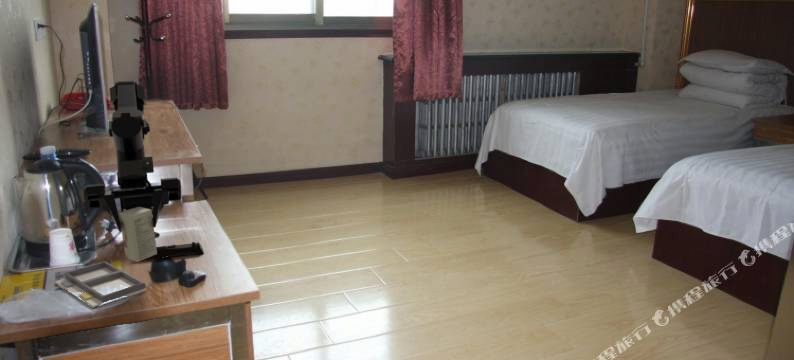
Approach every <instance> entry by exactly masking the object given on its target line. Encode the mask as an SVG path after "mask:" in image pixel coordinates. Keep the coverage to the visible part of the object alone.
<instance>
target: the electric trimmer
mask: <svg viewBox="0 0 794 360" xmlns="http://www.w3.org/2000/svg"><path fill="white" fill-rule="evenodd" d="M156 249H157V254H156V255H153V256H151V257H148V258H146V259H145V260H153V259H154V260H155V259H159V258H162V257H166V256H169V257H179V256H188V255H199V256H200V255H204V254H205V253H204V249H203V247H202V245H201V244H200V242H195V241H191V243H185V244H183V243H182V244H172V245H162V246H156ZM162 259H163V258H162Z"/></svg>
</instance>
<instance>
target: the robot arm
mask: <svg viewBox="0 0 794 360" xmlns="http://www.w3.org/2000/svg"><path fill="white" fill-rule="evenodd" d="M109 99H110V105H111V107H114V111H113V112H112V114H111V120H109V122H108V133H109V134H108V135H109V137H110V138H112V139H113V142H114V147H115V152H116V153H115V154H116V166H117V171H116V178H117V186H118V188H117V189H116V188H114V189H112V188H111V187H110V188H109V187H107V188H106V186H105V183H99V184H88V185H85V187H84V188H83V199H84V202H85V204H86V209H89V210H95V209H100V211H102V212H105V211H106V212H107V214H108V215H109V216H110V217H111V219H112V220H113V222H114V224H115V226H116V228H117V230H118V232H122V229H121V222H120V215H119V212H118V209H117V203H116V200H117V199H119V203H120V213H121V212H123V211H127V210H130V209H133V208H136V207H143V208H147V209H151V210H152V218H153V227H154V229H155V228H156V227H157V224H158V221H159V217H160V214H161V212H162V210H163V208H164V207H165V206H167V205H169V204H170V202H175V201H180V200H181V199H182V186H181V179H179V178H178V177H169V178H168V177H167V178H166V177H165V178H160V184H159V185H152V183H151V182H150V181H149V180H148V174H151V173H152V174H153V173H154V172H155V170H154V169H155V168H154V161H153V156H146V154H145V153H146V152H145V145H144V140H145V136H147V135H148V134H149V133H150V132H151V129H150V124H149V122H148V121H147V119H146V118H145V119H143V116H144V115H145V106H147V94H146V88H145V86H143V85H140V84H138V82H137V81H134V80H120V81H119V80H118V81H117V82H114V85H113V86H111V87H110V88H109ZM154 233H155V238H156V237H159V236H160V233H159V232H156V231H154Z"/></svg>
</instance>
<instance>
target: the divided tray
mask: <svg viewBox="0 0 794 360" xmlns="http://www.w3.org/2000/svg"><path fill="white" fill-rule="evenodd" d="M63 274H64V278H62V279H59V280H55V281H54V283H55V285H57V286H58V287H60V288H61V289H62V290H64V289H65V290H64V291H66V290H69V291H71V292H81V293H82V292H83V293H82V294H78V297H80V298H81V299H82V300H83V301H85V302H86V303H87V304H89V305H90V306H91V307H92V308H91V307H90V306H89V307H90V308H91V309H93V308H94V307H96V306H99V305H101V304H102V303H104V302H107V301H109V300H113V299H116V298H120V297H122V296H129V297H132V296H135V295H137V294H140V293H144V292H146V291H147V287H146V282H145V281H143V280H141V279H139V278H137V277H135V276H134V275H131V274H130V273H129V272H126V271H124V270H122V269H121V268H119V267H117V266H115V265H113V264H111V263H109V262H108V261H106V260H105V261H101V262H98V263H94V264H91V265H88V266H84V267H81V268H78V269H74V270H71V271H67V272H64V273H63ZM120 285H123V286H127V287H128V288H125V289H122V290H119V291H115V292H112V293H109V294H106V295H102V294H101V293H99V292H97V291H100V290H101V288H102V287H104V288H105V287H107V286H109V287H111V288H113V289H114V288H115V287H119V286H120ZM87 304H86V305H87ZM94 309H95V308H94Z"/></svg>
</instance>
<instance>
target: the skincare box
mask: <svg viewBox="0 0 794 360" xmlns="http://www.w3.org/2000/svg"><path fill="white" fill-rule="evenodd" d="M118 215H119V219H120V224H121V235H122V242H123V251H124V257H125V259H128V260H131V261H134V262H140V261H142V260H147V259H146V258H148V257H151V256H153V255H156V254H157V249H156V247H157V242H156V237H155V233H154V232H155V228H154V227H153V215H152V210H151V209H147V208H143V207H136V208H133V209H130V210H127V211H123V212H121V211H120V212H118Z"/></svg>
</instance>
